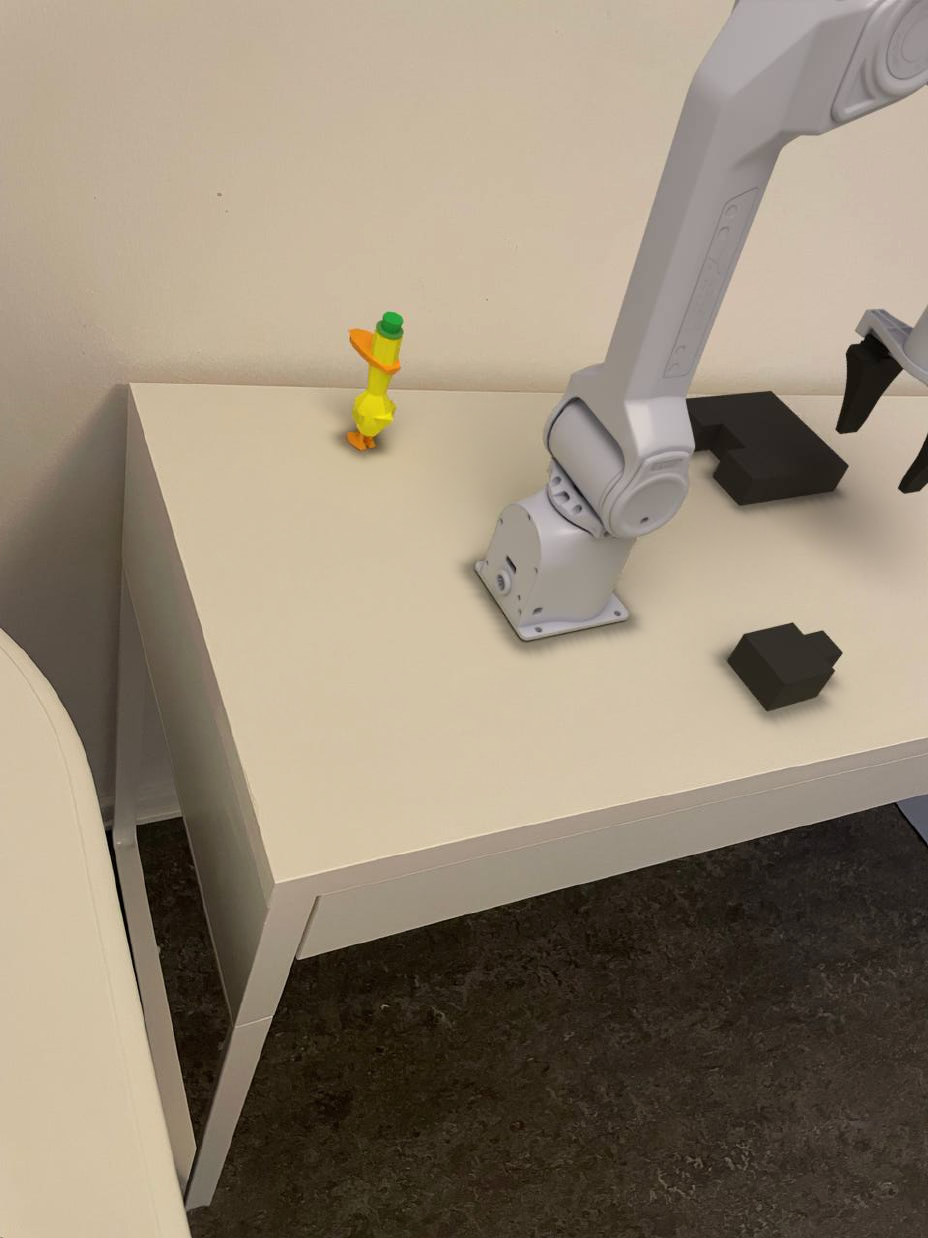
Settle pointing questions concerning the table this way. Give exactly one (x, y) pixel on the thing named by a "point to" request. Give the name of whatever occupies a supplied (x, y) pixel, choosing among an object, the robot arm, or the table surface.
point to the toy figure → (376, 378)
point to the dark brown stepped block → (784, 664)
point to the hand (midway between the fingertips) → (876, 459)
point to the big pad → (762, 447)
